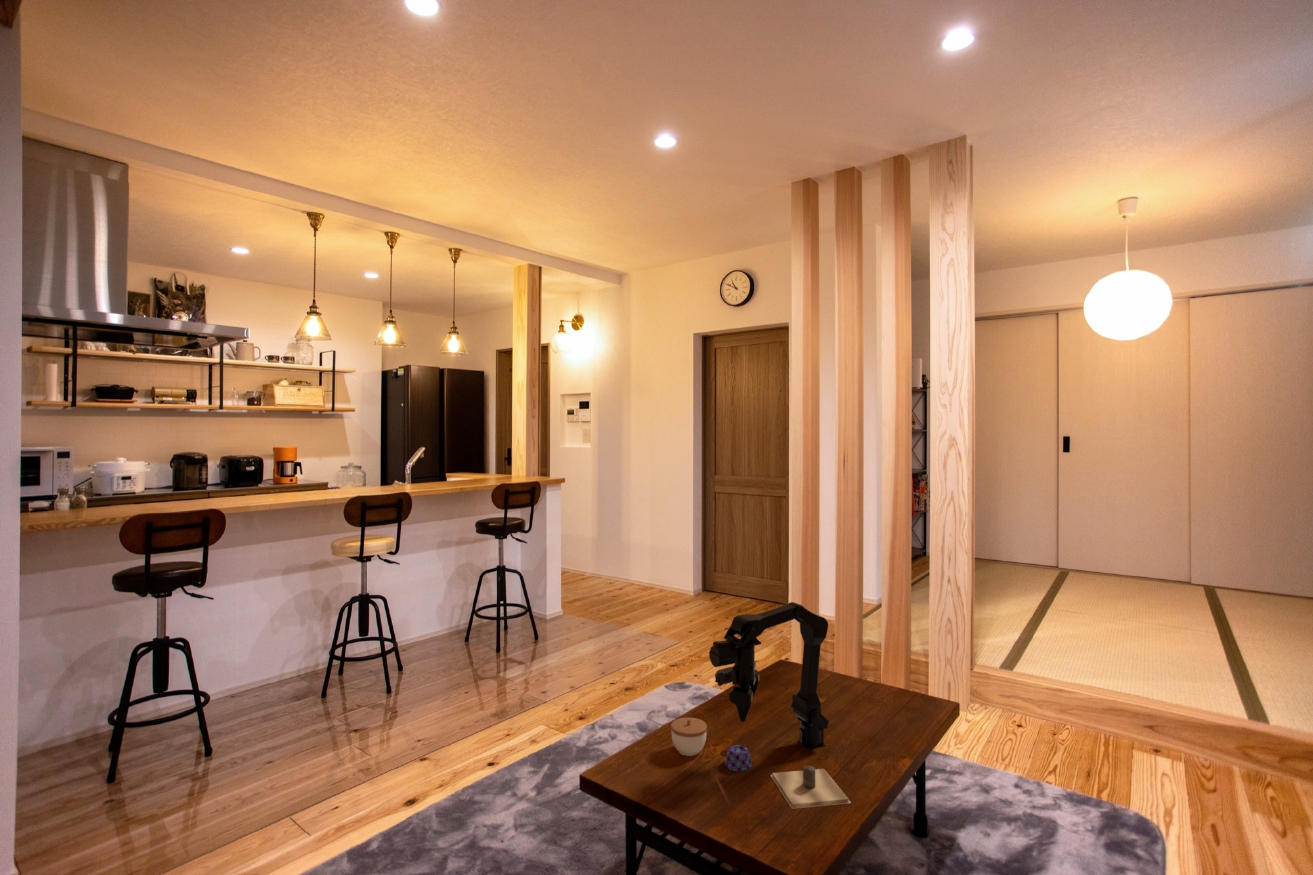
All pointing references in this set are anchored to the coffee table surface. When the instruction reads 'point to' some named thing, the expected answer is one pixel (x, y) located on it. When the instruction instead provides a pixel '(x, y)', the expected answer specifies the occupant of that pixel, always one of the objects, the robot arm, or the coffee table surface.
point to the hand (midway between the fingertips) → (745, 714)
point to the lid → (809, 787)
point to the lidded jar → (688, 735)
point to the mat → (803, 806)
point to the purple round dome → (738, 758)
